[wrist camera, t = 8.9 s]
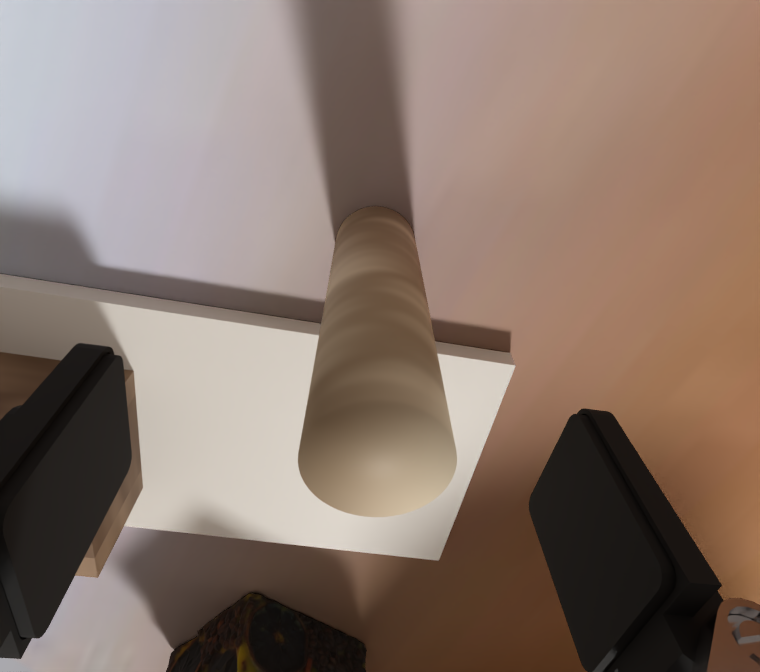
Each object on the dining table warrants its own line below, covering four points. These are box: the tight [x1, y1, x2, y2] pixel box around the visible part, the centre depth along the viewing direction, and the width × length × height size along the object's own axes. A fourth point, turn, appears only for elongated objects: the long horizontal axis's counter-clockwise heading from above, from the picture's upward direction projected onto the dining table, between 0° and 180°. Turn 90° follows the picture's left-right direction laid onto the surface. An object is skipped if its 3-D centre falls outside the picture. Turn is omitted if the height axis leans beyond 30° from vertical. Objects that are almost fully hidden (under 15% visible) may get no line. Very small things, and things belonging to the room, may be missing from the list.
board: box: [0, 274, 516, 561], centre depth 22 cm, size 26×14×8 cm, turn 79°
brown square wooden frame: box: [0, 352, 143, 578], centre depth 22 cm, size 8×8×5 cm
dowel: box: [298, 206, 457, 517], centre depth 15 cm, size 3×3×12 cm
